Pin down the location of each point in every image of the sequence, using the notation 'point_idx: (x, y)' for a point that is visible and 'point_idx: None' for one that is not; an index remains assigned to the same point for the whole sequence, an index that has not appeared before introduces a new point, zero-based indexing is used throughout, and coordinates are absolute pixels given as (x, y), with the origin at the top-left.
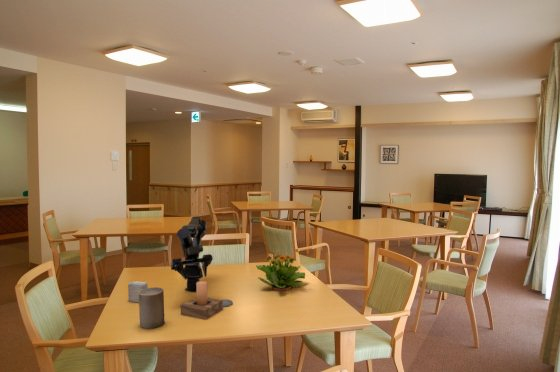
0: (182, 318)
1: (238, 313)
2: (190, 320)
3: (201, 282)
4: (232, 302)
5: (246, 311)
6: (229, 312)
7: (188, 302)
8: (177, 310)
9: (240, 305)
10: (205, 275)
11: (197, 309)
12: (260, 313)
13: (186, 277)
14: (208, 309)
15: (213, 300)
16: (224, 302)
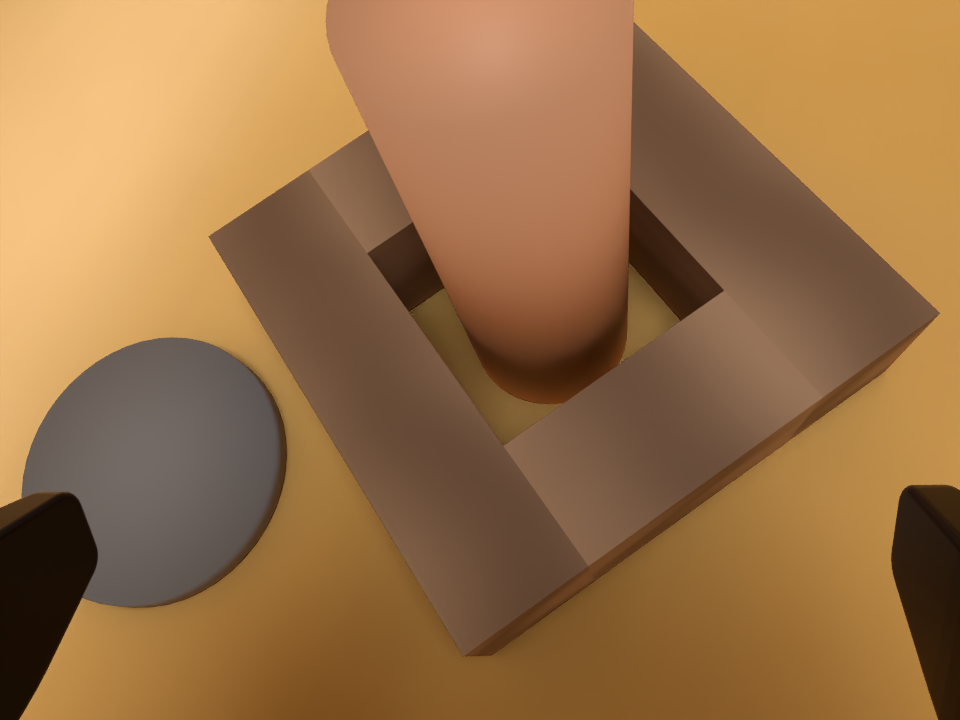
0: (879, 218)
1: (191, 98)
2: (783, 118)
3: (475, 8)
4: (54, 405)
5: (91, 116)
6: (257, 162)
7: (758, 391)
8: None
9: (26, 315)
10: (67, 510)
11: (682, 77)
12: (19, 19)
13: (924, 503)
14: None
15: (329, 289)
16: (142, 453)
